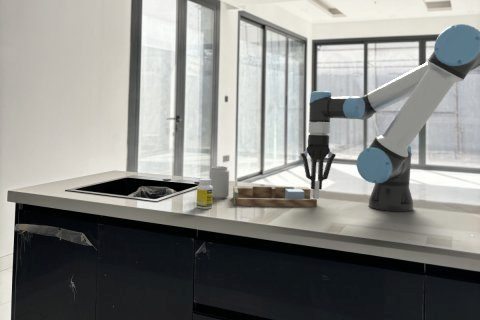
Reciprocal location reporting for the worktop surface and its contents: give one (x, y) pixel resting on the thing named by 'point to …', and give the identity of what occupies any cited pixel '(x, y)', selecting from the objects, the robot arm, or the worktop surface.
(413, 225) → the worktop surface
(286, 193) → the block
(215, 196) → the can
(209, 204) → the supplement bottle
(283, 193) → the box
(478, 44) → the robot arm
